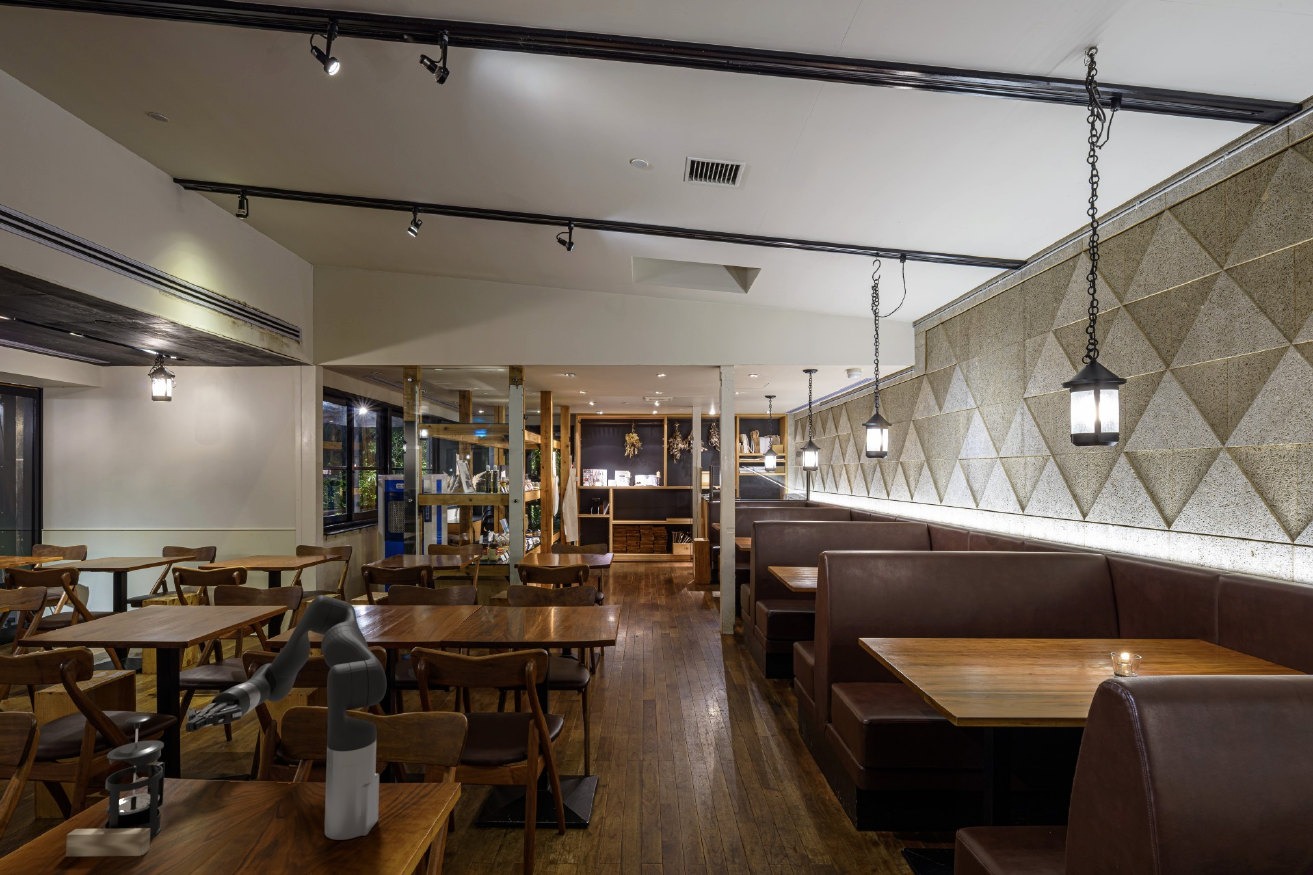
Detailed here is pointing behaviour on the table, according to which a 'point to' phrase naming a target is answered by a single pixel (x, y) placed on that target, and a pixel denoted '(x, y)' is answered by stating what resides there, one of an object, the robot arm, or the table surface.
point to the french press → (136, 784)
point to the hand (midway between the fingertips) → (189, 727)
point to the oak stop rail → (108, 842)
